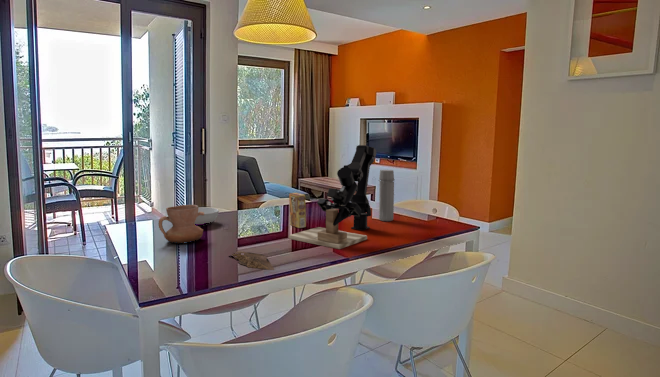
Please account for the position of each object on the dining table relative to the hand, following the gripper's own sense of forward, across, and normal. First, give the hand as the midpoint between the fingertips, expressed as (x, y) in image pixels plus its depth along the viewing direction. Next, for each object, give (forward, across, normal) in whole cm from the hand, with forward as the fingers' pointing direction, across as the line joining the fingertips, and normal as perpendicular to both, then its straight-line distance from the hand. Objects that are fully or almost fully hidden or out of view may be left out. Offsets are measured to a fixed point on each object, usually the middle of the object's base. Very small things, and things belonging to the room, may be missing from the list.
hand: (329, 224), depth 166 cm
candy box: (-6, -32, +18) cm, 37 cm away
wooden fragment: (+29, -8, -17) cm, 35 cm away
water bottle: (-31, -6, +43) cm, 53 cm away
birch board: (+1, -6, +10) cm, 12 cm away
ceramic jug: (+29, -50, -17) cm, 60 cm away
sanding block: (+4, 0, +6) cm, 7 cm away
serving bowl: (+13, -73, -1) cm, 74 cm away
